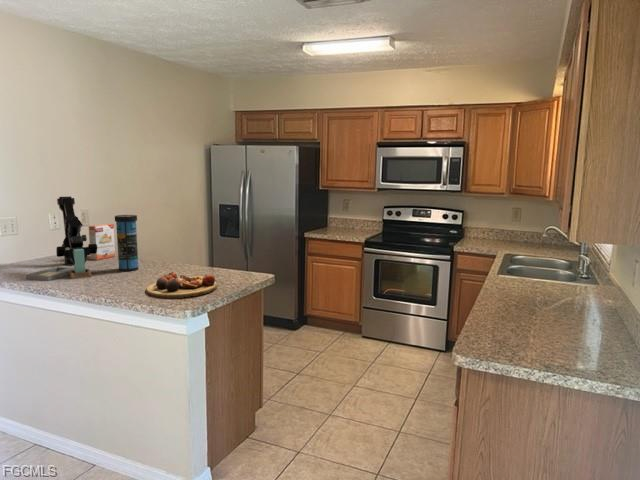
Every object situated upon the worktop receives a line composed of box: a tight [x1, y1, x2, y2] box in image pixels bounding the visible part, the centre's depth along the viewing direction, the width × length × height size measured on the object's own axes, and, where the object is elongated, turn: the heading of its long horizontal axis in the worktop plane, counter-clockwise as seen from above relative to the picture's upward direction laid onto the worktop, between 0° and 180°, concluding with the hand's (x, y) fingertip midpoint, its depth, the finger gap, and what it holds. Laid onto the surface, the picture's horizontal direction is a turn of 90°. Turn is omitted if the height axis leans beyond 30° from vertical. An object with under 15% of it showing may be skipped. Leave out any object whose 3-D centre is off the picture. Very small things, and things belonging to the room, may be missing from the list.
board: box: [25, 266, 74, 281], centre depth 235 cm, size 14×20×2 cm
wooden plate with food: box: [145, 271, 218, 299], centre depth 212 cm, size 32×32×8 cm
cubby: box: [68, 268, 92, 280], centre depth 234 cm, size 9×9×2 cm
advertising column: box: [114, 214, 139, 273], centre depth 247 cm, size 11×11×30 cm
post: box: [73, 249, 86, 273], centre depth 233 cm, size 4×4×14 cm
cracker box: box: [88, 223, 116, 261], centre depth 278 cm, size 14×6×21 cm, turn 157°
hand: (79, 263), depth 232 cm, fingers closed on post, 4 cm apart
